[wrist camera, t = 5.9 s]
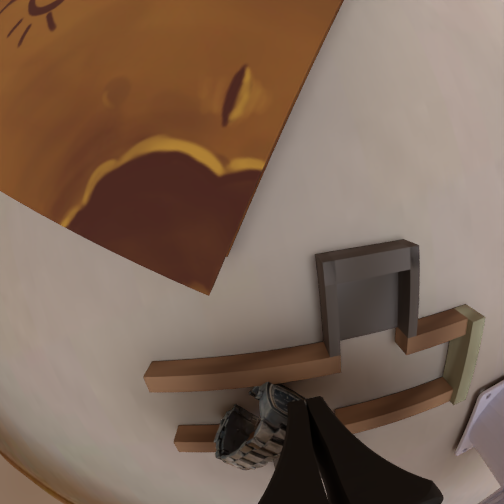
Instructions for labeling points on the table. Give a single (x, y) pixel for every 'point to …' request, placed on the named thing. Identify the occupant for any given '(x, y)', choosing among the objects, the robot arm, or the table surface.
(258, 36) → the diary
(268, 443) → the wristwatch
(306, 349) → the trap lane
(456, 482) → the table surface
